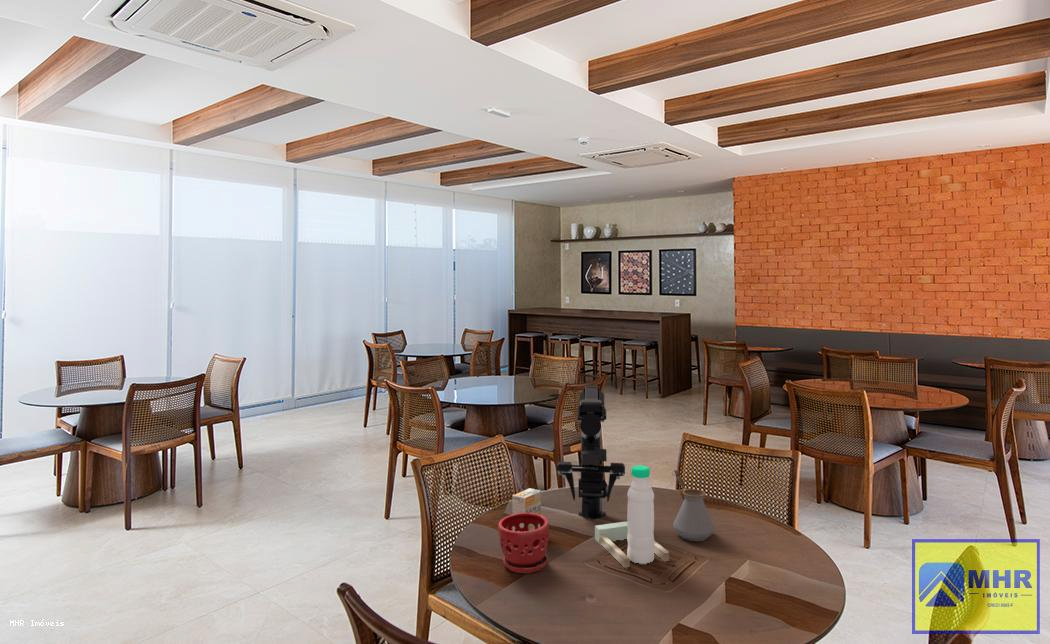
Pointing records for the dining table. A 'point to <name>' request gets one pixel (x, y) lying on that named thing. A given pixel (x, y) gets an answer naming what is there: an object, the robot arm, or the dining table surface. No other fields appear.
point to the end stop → (612, 531)
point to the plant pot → (524, 542)
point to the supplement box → (527, 504)
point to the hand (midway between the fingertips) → (591, 500)
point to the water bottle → (640, 517)
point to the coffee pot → (693, 515)
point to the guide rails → (622, 557)
